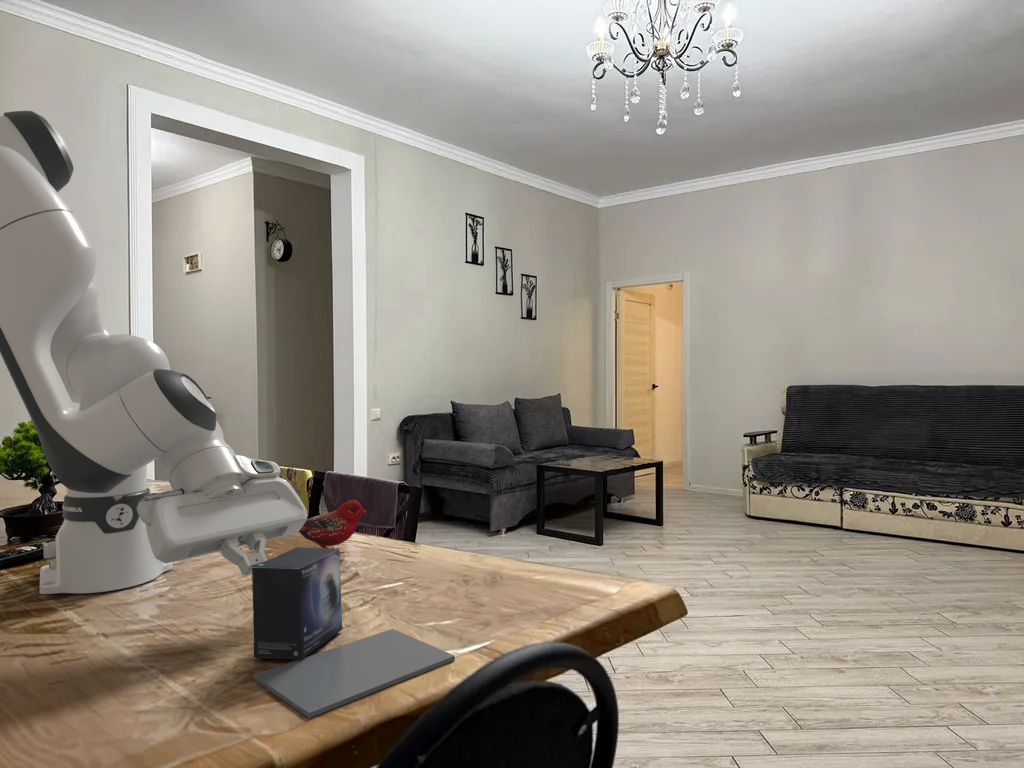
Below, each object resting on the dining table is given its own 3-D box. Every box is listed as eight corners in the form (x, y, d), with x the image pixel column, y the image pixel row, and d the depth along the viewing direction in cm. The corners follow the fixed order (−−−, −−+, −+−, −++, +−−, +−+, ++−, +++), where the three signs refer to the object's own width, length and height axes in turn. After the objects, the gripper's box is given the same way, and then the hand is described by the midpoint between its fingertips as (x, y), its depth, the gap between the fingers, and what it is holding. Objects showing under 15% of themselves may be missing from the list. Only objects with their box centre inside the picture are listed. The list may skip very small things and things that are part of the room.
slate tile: (253, 679, 74) (253, 674, 74) (392, 632, 87) (392, 628, 87) (309, 718, 65) (309, 713, 65) (454, 660, 78) (454, 655, 78)
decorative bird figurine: (364, 558, 121) (363, 501, 121) (271, 555, 124) (270, 499, 124) (370, 554, 124) (369, 498, 124) (279, 550, 127) (278, 496, 127)
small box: (304, 661, 77) (300, 567, 77) (251, 660, 78) (247, 567, 78) (346, 629, 87) (342, 546, 87) (298, 628, 88) (295, 546, 89)
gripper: (140, 480, 82) (185, 575, 77) (286, 461, 99) (332, 538, 93) (123, 513, 85) (165, 607, 79) (268, 489, 101) (311, 566, 96)
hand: (256, 570), depth 86 cm, fingers closed
